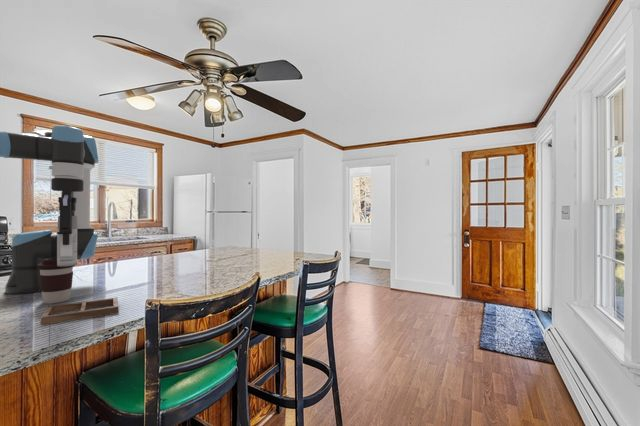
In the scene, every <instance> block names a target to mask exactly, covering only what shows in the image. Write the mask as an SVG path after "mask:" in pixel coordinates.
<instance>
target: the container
mask: <svg viewBox="0 0 640 426" xmlns="http://www.w3.org/2000/svg"><path fill="white" fill-rule="evenodd" d="M59 230H60V215H58V216H57V231H56V233H57V232H59ZM71 234H72V256H60V234H57V266H73V265H75V266H76V265H78V260H77V216H72V233H71Z"/></svg>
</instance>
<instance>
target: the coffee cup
mask: <svg viewBox="0 0 640 426" xmlns="http://www.w3.org/2000/svg"><path fill="white" fill-rule="evenodd" d="M75 266H76V265H73V266H57V257H55V258H47V259H44V260H43V262H42V263H40V264H38V265H37V269H39V270H40V275H39V277H40V288H41V291H40V292H41V298H42V299H41V301H42V303H43V304H47V305H49V304H50V305H51V304H53V305H54V304H60V303H64V302H67V301H69V300H70V298H71V290H72V288H73V287H72V286H73V276H74V271H73V268H74V267H75Z"/></svg>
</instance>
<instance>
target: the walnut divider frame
mask: <svg viewBox="0 0 640 426" xmlns="http://www.w3.org/2000/svg"><path fill="white" fill-rule="evenodd" d="M118 299H119V298H118V297H117V296H116V297H111V298H110V297H109V298H101V299H95V300H86V301H79V302H70V303H63V304H53V305H48V306H47V307H46V309H45V311H44V312H43V314H42V315H41V317H40V326H42V325H43V326H44V325H49V324H55V323H56V324H57V323H62V322H68V321H76V320H82V318H83V319H88V318H93V317H94V318H95V317H101V316H107V315H109V316H110V315H114V314H119V300H118ZM104 306H105V307H104ZM106 306H108V307H106ZM96 307H97V308H96ZM98 307H100V308H98ZM90 308H91V309H90ZM92 308H93V309H92ZM76 309H78V311H77V310H76ZM70 310H71V311H73V312H71V311H70ZM64 312H65V313H64ZM54 313H58V314H54Z"/></svg>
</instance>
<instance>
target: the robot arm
mask: <svg viewBox="0 0 640 426" xmlns="http://www.w3.org/2000/svg"><path fill="white" fill-rule="evenodd" d="M0 158H3V159H21V160H36V161H45V162H47V161H48V162H51V165H49V167H48V169H49V170H51V176H52V178H51V180H50V182H51V183H50V188H51V191H55V192H61V195H60V196H58V197H57V198H58V201H57V202H58V205H59V207H58V210H59V216H60V230H59V232H57V231H56V232H54V231H53V230H52V229H43V230H42V229H41V230H34V231H26V232H21V233H19V232H18V233H16V234H14V235H13V237H12V238H11V239H12V240H11V241H12V242H11V273H10V275H9V277H8V280H7V282H6V284H5V287H4V289H5V290H4V293H6V294H9V295H14V294H15V295H16V294H17V295H20V294H31V293H37V292H41V288H40V277H39V275H40V270H39V269H37V265H38V264H40V263H42V262H43V260H44V259H47V258H55V257H57V234H60V256H72V234H71V233H72V216H77V261H79V260H80V261H81V260H87V259H88V260H89V259H92V258H94V256H95V253H96V248H97V242H98V237H99V232H97V231H95V227H94V226H92V225H91V170H93V169H94V168H95V166H96V165H95V164H98V163H99V154H98V147H97V142H96V138H94V137H93V136H90V135H85V134H84V131H83V130H82V129H80V128H78V127H74V126H70V125H69V126H68V125H54V126H53V127H52V128H51V130H28V131H24V132H21V133H20V132H19V133H16V132H7V131H0Z"/></svg>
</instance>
